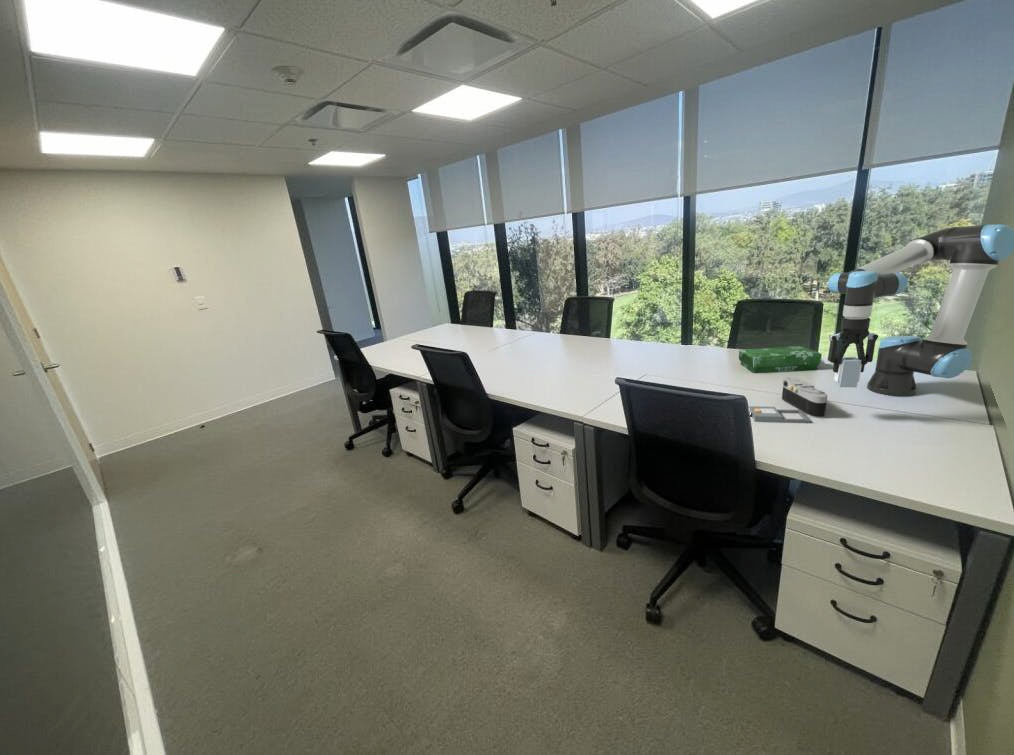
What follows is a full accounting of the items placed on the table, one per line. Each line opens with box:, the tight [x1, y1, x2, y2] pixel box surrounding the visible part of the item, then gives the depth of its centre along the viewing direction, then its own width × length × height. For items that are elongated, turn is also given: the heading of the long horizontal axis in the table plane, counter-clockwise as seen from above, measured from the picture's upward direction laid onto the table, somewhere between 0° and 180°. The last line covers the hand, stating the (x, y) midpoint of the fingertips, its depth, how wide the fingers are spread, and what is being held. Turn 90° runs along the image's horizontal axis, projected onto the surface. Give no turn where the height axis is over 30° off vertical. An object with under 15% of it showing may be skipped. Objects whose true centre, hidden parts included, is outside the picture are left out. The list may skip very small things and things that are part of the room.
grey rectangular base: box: [748, 405, 811, 424], centre depth 158 cm, size 21×10×3 cm, turn 72°
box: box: [738, 345, 823, 374], centre depth 208 cm, size 32×18×10 cm, turn 82°
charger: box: [833, 356, 861, 388], centre depth 147 cm, size 5×5×10 cm
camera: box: [781, 376, 828, 419], centre depth 162 cm, size 22×10×10 cm, turn 178°
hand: (846, 380), depth 147 cm, fingers closed on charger, 5 cm apart
